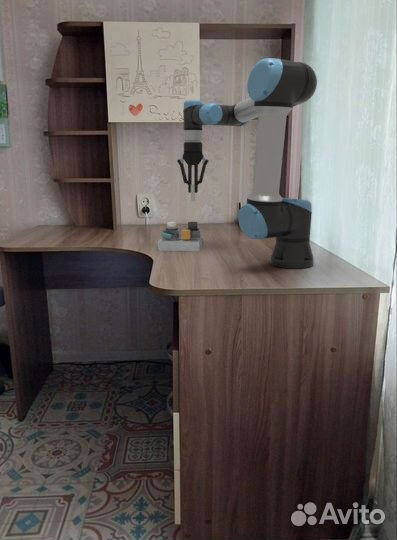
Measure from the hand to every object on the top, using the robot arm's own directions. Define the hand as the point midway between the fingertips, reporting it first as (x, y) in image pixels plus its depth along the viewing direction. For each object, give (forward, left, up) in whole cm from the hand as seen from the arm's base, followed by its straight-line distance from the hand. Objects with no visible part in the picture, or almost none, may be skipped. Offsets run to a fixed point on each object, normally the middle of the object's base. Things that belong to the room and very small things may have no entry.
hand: (193, 200), depth 178 cm
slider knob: (-7, +2, -15) cm, 16 cm away
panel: (-3, +5, -19) cm, 20 cm away
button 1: (+1, +9, -12) cm, 15 cm away
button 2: (+1, 0, -12) cm, 12 cm away
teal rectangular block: (-7, +10, -14) cm, 18 cm away
